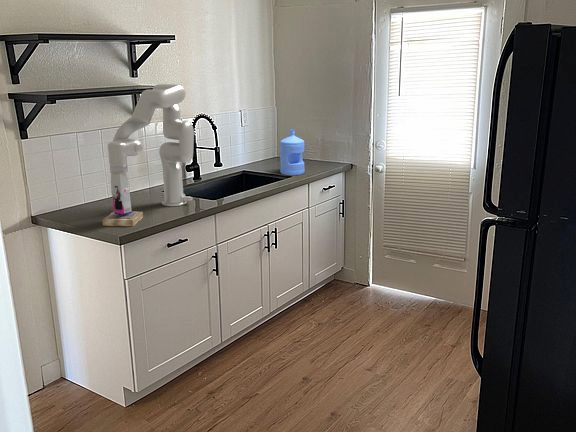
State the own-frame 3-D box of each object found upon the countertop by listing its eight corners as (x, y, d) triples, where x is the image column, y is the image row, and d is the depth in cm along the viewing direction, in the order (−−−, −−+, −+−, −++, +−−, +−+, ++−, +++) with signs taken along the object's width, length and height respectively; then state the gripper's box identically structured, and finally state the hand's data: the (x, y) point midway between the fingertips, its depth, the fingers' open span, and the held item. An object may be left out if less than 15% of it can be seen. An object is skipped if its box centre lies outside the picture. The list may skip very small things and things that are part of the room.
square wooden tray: (143, 217, 263) (142, 211, 262) (133, 226, 250) (132, 219, 249) (114, 217, 264) (113, 210, 263) (102, 225, 251) (102, 219, 250)
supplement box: (124, 210, 260) (122, 186, 257) (132, 212, 256) (129, 188, 253) (113, 213, 255) (111, 189, 252) (121, 215, 252) (118, 190, 249)
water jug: (275, 173, 359) (274, 129, 351) (291, 169, 370) (291, 127, 362) (293, 176, 349) (293, 131, 341) (309, 172, 360) (309, 129, 352)
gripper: (117, 165, 259) (121, 202, 264) (103, 173, 242) (107, 212, 247) (133, 165, 258) (136, 202, 263) (120, 173, 241) (123, 212, 246)
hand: (122, 206), depth 255 cm, fingers closed on supplement box, 7 cm apart
